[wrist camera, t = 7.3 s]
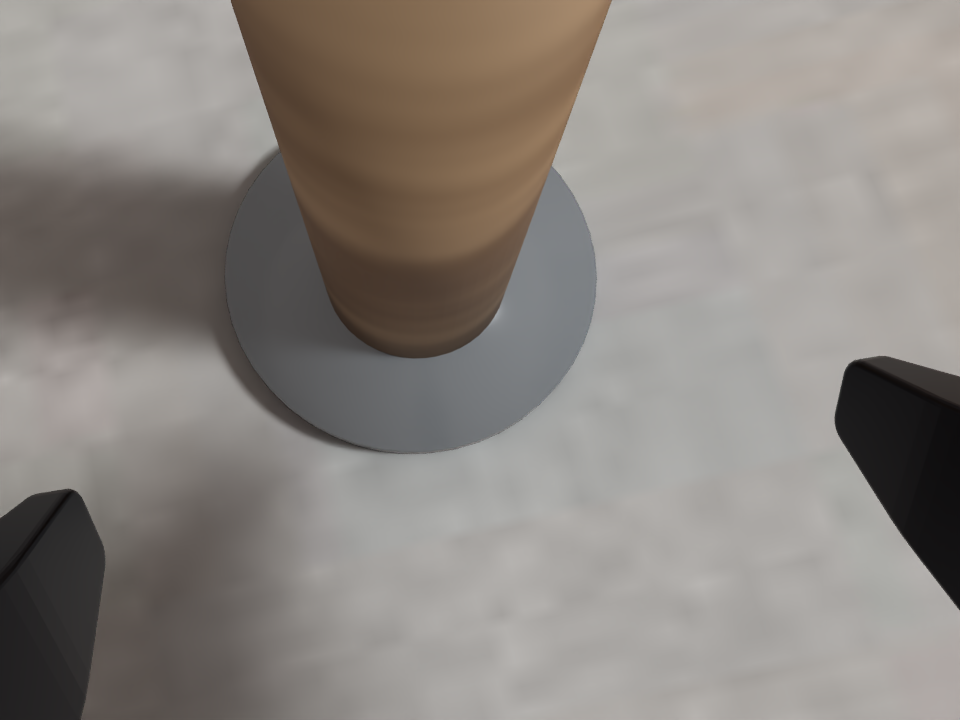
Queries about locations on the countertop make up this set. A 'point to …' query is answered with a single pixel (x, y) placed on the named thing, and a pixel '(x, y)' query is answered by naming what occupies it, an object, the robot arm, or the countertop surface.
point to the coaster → (397, 380)
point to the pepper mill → (418, 146)
